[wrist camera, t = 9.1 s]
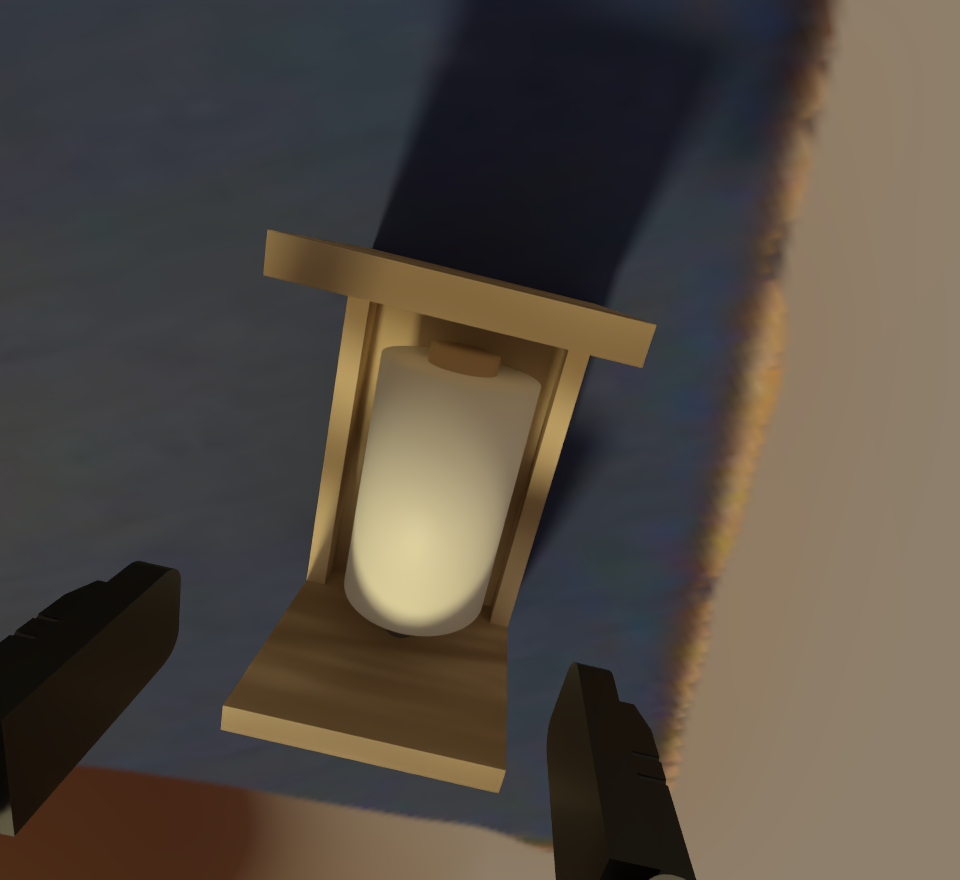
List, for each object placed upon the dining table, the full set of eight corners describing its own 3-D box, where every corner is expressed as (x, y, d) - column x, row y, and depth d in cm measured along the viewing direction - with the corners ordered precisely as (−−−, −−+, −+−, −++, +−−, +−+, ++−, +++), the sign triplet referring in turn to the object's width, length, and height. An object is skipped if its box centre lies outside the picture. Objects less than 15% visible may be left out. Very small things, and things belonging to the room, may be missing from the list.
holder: (371, 248, 20) (267, 229, 11) (594, 303, 20) (656, 325, 12) (321, 571, 25) (221, 729, 16) (502, 614, 25) (498, 793, 16)
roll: (397, 322, 20) (370, 343, 14) (535, 354, 20) (557, 385, 15) (358, 550, 23) (324, 635, 18) (478, 573, 23) (480, 661, 18)
